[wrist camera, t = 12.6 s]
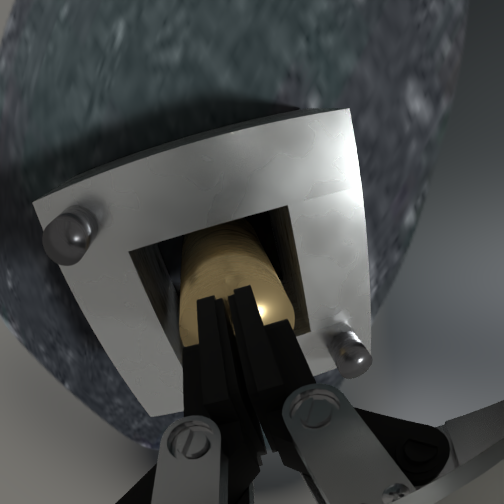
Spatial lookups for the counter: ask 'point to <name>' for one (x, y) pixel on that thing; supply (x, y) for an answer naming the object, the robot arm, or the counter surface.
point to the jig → (209, 214)
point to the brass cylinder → (228, 274)
